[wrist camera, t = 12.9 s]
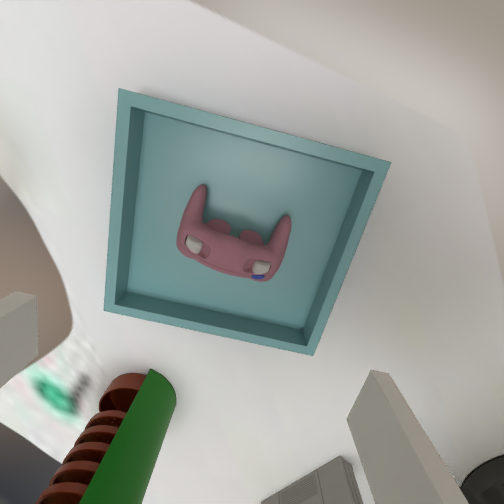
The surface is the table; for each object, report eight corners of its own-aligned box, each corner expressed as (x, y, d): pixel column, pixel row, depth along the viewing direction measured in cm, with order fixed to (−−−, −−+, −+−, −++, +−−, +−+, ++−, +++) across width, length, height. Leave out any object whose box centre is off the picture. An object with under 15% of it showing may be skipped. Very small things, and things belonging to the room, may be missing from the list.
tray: (373, 161, 25) (391, 162, 21) (307, 335, 31) (313, 356, 28) (138, 98, 23) (118, 88, 20) (120, 293, 30) (103, 310, 27)
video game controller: (190, 214, 27) (163, 263, 22) (197, 177, 24) (167, 225, 19) (279, 245, 28) (272, 298, 23) (297, 213, 25) (292, 268, 20)
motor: (127, 356, 33) (-47, 625, 14) (190, 388, 34) (109, 668, 16) (95, 406, 36) (-84, 684, 17) (154, 434, 37) (50, 716, 18)
